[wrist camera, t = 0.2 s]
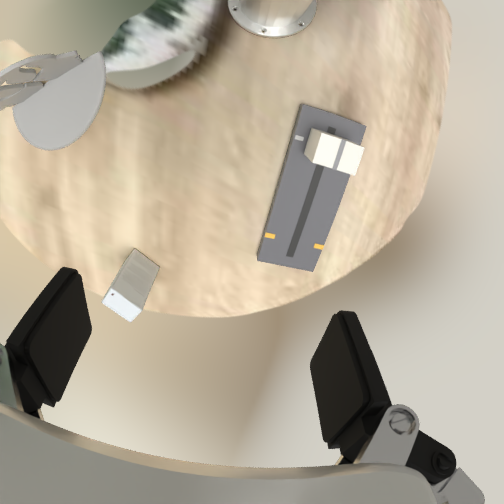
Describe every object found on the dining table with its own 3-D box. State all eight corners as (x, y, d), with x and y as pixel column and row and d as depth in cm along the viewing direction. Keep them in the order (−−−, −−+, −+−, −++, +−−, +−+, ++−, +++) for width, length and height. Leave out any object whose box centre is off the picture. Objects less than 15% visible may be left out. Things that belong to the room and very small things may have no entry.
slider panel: (300, 103, 38) (303, 104, 36) (361, 124, 39) (366, 126, 37) (256, 254, 50) (257, 260, 49) (310, 265, 52) (313, 272, 50)
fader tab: (311, 127, 38) (322, 132, 32) (349, 140, 38) (365, 147, 33) (303, 153, 39) (312, 163, 34) (341, 165, 40) (355, 176, 35)
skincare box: (124, 261, 51) (99, 302, 40) (135, 247, 49) (110, 287, 39) (149, 280, 53) (130, 323, 43) (161, 267, 51) (142, 310, 41)
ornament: (102, 49, 32) (38, 38, 17) (120, 121, 38) (61, 139, 24) (12, 107, 34) (-51, 125, 19) (29, 167, 40) (-30, 201, 26)
